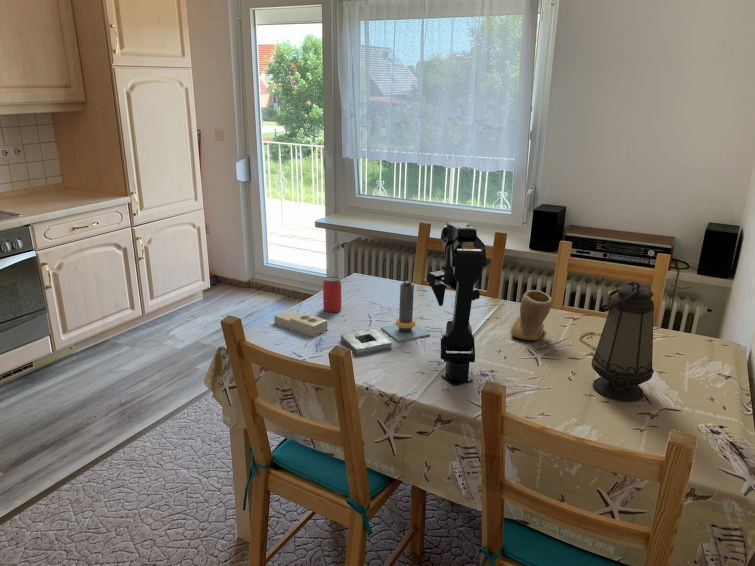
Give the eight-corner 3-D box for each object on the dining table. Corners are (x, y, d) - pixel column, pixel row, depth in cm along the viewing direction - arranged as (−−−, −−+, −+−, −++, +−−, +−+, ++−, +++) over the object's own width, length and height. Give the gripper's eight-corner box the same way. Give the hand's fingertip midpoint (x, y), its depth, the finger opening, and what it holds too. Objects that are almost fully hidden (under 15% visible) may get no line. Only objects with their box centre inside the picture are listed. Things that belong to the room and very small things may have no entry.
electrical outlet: (289, 307, 192) (327, 319, 182) (289, 318, 193) (327, 331, 183) (274, 313, 186) (312, 326, 176) (274, 324, 188) (312, 337, 177)
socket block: (391, 348, 170) (391, 342, 169) (356, 355, 165) (356, 349, 164) (374, 333, 180) (374, 328, 179) (340, 340, 175) (340, 334, 174)
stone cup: (543, 346, 173) (549, 302, 168) (506, 339, 178) (510, 295, 173) (551, 329, 186) (557, 287, 181) (516, 323, 191) (521, 282, 186)
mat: (430, 335, 180) (430, 333, 179) (398, 342, 174) (398, 340, 174) (411, 322, 190) (411, 321, 189) (380, 328, 184) (380, 327, 184)
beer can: (340, 313, 197) (340, 281, 193) (322, 312, 197) (321, 281, 193) (342, 306, 203) (341, 276, 199) (324, 306, 203) (323, 275, 200)
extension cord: (575, 350, 172) (576, 345, 171) (581, 333, 185) (582, 327, 184) (617, 359, 167) (618, 353, 166) (620, 340, 180) (621, 334, 179)
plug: (418, 332, 180) (421, 283, 175) (401, 335, 178) (403, 286, 172) (408, 325, 186) (410, 278, 180) (392, 328, 183) (393, 280, 177)
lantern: (649, 413, 137) (671, 300, 127) (585, 399, 143) (601, 290, 133) (649, 381, 153) (669, 279, 143) (591, 369, 159) (606, 270, 149)
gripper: (496, 269, 159) (490, 317, 165) (455, 250, 174) (451, 296, 180) (467, 275, 154) (462, 325, 159) (427, 255, 168) (424, 302, 174)
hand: (450, 311), depth 168 cm, fingers open, 9 cm apart
